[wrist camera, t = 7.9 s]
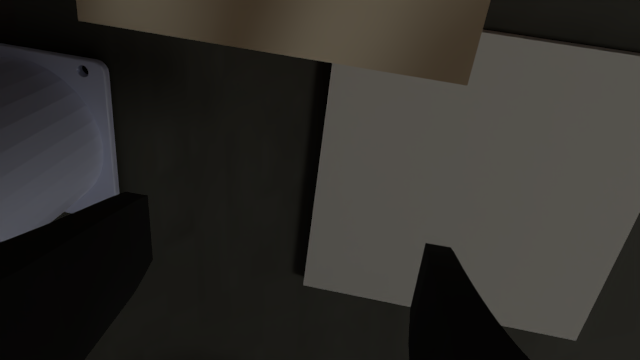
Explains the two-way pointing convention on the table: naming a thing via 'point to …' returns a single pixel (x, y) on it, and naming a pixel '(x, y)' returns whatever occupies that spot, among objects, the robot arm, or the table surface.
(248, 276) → the table surface
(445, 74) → the lid
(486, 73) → the mat
